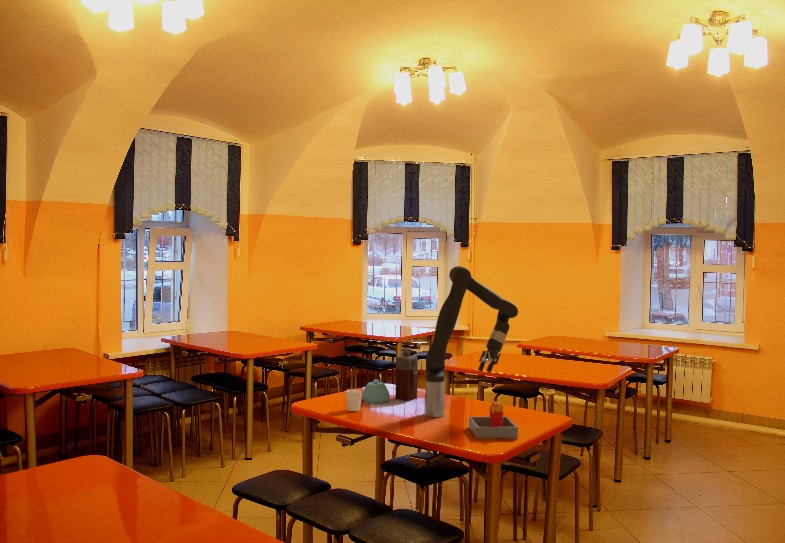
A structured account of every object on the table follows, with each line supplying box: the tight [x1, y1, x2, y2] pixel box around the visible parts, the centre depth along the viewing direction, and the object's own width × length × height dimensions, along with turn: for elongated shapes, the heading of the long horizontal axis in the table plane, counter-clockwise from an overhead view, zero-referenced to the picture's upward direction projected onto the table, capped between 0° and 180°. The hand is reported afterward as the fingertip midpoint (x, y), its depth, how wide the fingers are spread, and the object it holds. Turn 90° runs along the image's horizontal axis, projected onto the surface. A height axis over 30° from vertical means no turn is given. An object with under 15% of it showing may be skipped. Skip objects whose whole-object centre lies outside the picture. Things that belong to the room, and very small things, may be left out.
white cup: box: [345, 388, 363, 412], centre depth 314 cm, size 8×8×10 cm
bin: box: [468, 416, 519, 440], centre depth 277 cm, size 18×18×5 cm
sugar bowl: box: [361, 379, 391, 405], centre depth 335 cm, size 15×15×12 cm
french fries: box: [489, 400, 504, 427], centre depth 276 cm, size 9×4×13 cm, turn 15°
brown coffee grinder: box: [394, 347, 419, 402], centre depth 340 cm, size 9×11×28 cm
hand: (484, 371), depth 303 cm, fingers open, 8 cm apart
